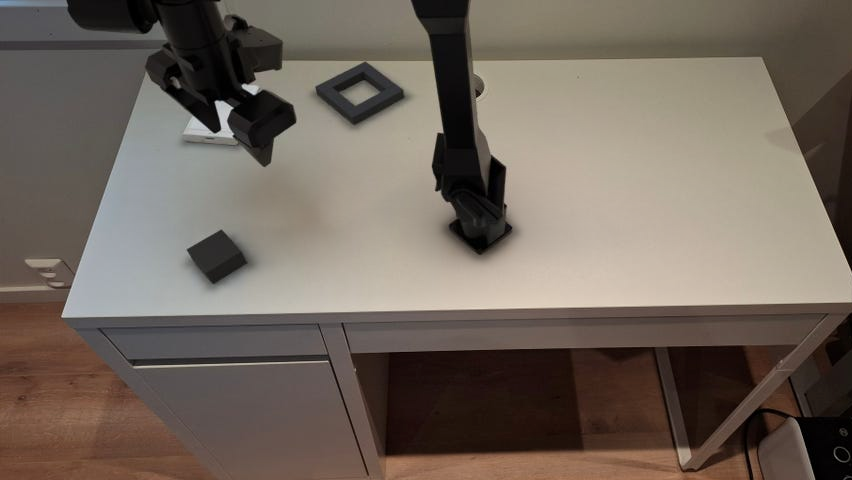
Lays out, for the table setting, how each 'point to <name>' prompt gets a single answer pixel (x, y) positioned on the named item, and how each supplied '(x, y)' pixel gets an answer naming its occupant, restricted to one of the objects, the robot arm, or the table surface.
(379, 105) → the dark grey square frame
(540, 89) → the table surface
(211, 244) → the black block
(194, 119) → the hard drive
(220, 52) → the robot arm
